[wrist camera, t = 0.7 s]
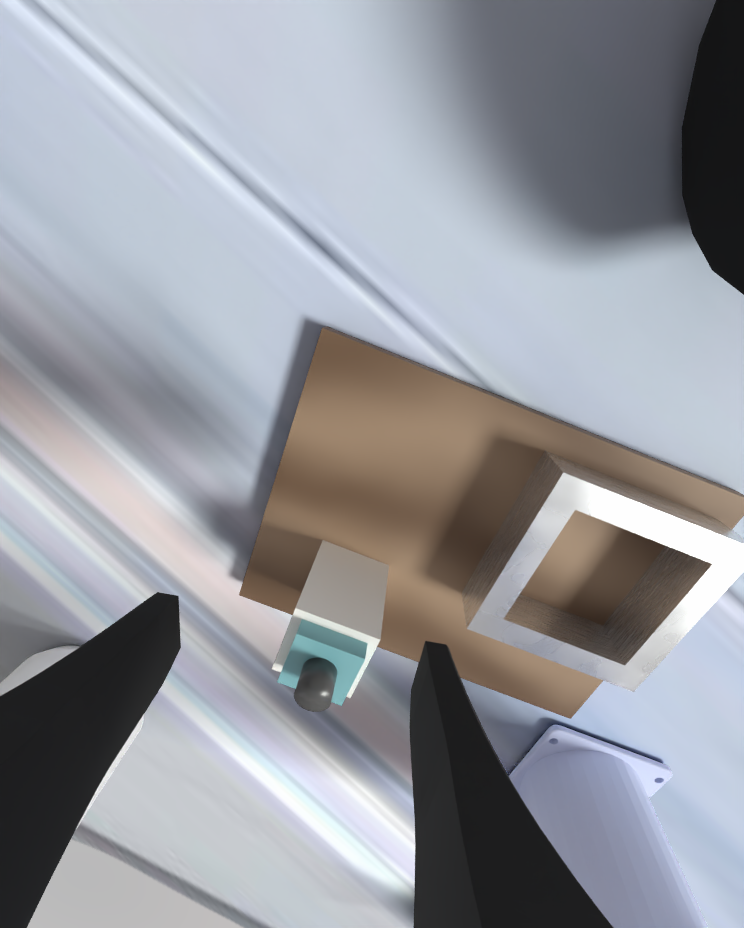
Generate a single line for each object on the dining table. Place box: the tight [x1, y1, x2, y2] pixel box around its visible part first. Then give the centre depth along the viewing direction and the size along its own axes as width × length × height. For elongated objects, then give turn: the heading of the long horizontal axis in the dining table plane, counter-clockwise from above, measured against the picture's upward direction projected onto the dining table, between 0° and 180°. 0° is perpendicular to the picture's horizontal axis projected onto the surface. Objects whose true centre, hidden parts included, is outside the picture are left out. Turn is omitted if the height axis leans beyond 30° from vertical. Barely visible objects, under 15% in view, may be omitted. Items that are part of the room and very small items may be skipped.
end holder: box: [462, 451, 744, 692], centre depth 19 cm, size 8×8×2 cm
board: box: [239, 327, 744, 719], centre depth 21 cm, size 15×20×1 cm
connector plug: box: [272, 540, 389, 712], centre depth 18 cm, size 4×4×7 cm
